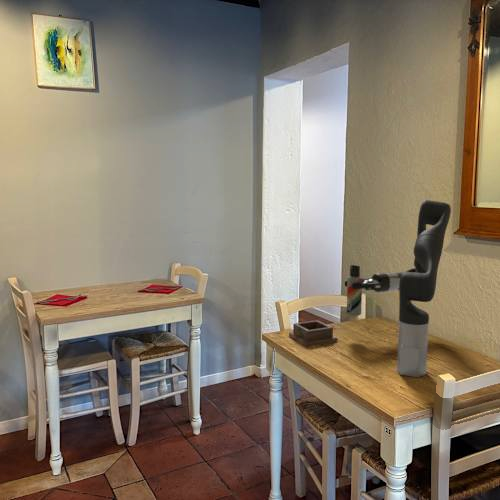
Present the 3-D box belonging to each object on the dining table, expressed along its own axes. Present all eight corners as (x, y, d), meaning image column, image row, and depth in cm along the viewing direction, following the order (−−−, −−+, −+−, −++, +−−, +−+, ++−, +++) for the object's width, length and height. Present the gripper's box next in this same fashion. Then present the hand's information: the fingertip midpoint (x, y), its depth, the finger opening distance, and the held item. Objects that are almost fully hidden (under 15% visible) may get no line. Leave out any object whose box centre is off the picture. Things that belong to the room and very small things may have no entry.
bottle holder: (337, 341, 191) (337, 328, 190) (306, 346, 185) (306, 332, 184) (318, 331, 203) (318, 319, 203) (289, 336, 198) (289, 323, 197)
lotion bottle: (344, 314, 194) (344, 264, 191) (351, 311, 198) (352, 263, 196) (356, 316, 190) (357, 266, 188) (363, 313, 194) (365, 264, 192)
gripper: (376, 270, 203) (339, 272, 198) (396, 276, 190) (358, 278, 185) (375, 287, 204) (339, 290, 199) (395, 294, 191) (357, 298, 186)
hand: (348, 285), depth 192 cm, fingers closed on lotion bottle, 5 cm apart
